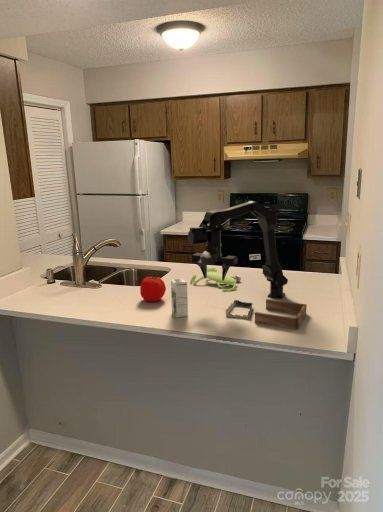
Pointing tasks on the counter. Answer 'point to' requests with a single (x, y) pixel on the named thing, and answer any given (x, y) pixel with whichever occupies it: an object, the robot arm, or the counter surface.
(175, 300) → the white tall box
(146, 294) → the tomato
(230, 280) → the figurine
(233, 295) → the counter surface
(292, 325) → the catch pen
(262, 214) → the robot arm
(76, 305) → the counter surface
